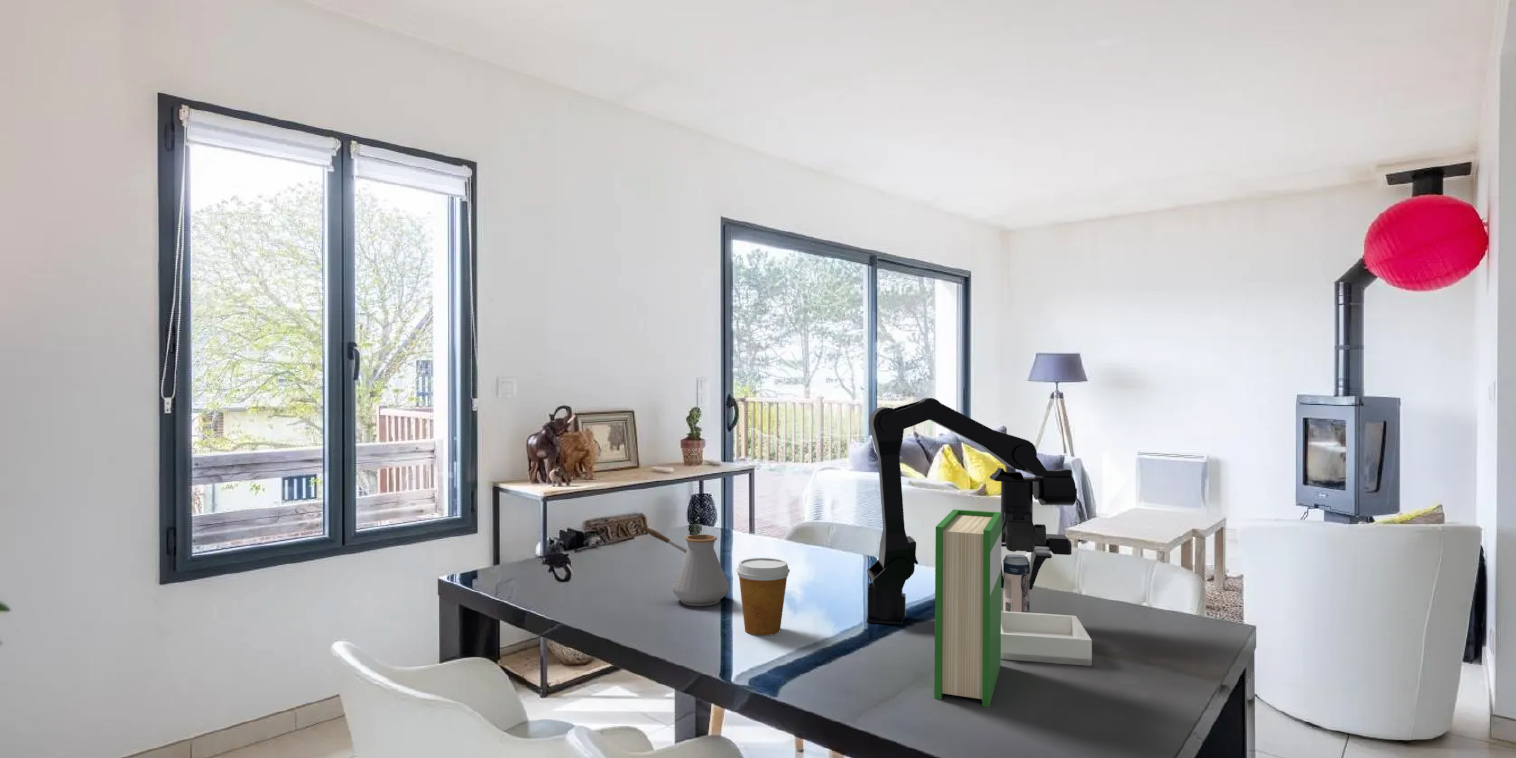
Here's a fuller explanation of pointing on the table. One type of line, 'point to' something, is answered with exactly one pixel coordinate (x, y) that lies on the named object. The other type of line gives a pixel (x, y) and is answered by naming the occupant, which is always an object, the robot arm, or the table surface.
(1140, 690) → the table surface
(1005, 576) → the beer can
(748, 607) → the disposable coffee cup
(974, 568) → the hardback book
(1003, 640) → the bin
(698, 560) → the coffee pot
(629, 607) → the table surface
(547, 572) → the table surface
